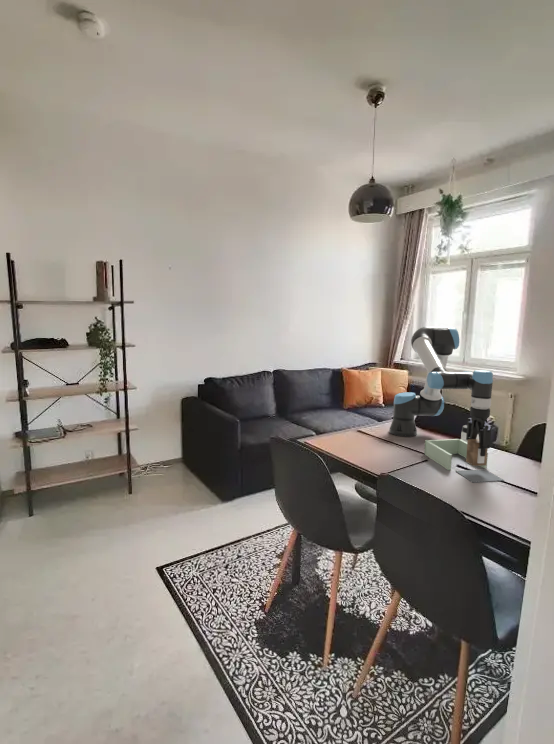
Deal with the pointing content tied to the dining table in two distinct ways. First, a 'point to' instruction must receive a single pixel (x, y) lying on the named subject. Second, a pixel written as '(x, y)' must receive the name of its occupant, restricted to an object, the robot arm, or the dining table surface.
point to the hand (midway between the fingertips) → (476, 460)
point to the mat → (479, 476)
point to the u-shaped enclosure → (446, 451)
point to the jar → (464, 433)
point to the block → (474, 452)
